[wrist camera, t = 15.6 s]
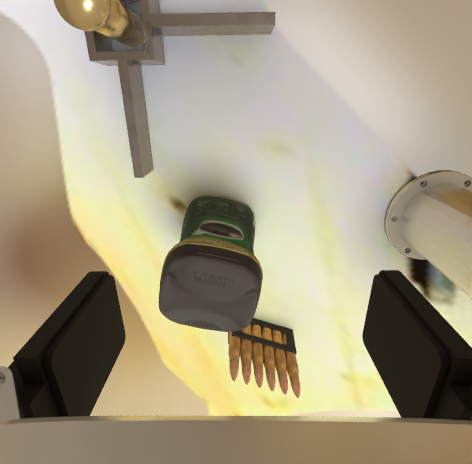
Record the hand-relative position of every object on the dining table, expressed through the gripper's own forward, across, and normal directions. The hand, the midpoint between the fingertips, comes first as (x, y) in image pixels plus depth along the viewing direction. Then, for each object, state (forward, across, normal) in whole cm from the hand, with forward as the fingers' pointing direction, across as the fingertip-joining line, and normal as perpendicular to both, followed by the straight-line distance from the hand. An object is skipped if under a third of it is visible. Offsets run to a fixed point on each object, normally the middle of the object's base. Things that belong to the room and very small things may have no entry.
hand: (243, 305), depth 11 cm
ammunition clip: (+31, -3, +27) cm, 41 cm away
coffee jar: (+31, +3, +9) cm, 32 cm away
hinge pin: (+30, +12, -14) cm, 35 cm away
